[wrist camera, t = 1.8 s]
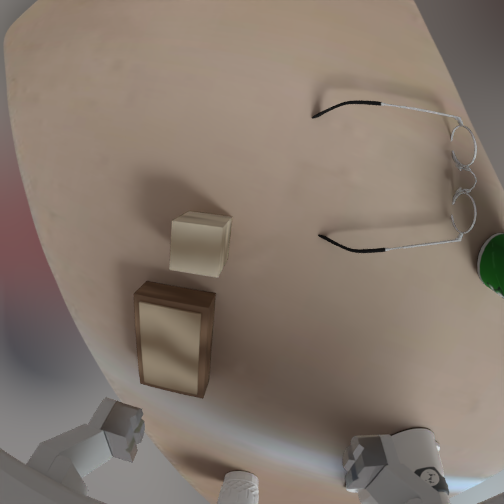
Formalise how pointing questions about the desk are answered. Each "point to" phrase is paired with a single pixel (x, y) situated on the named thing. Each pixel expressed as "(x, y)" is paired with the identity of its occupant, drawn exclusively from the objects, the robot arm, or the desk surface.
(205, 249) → the block
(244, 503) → the white cup
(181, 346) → the plinth
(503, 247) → the soda can
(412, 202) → the desk surface
